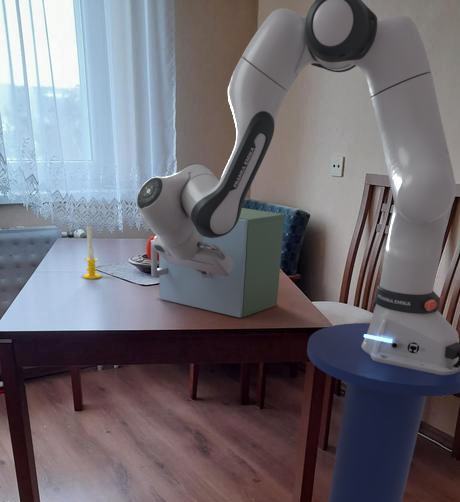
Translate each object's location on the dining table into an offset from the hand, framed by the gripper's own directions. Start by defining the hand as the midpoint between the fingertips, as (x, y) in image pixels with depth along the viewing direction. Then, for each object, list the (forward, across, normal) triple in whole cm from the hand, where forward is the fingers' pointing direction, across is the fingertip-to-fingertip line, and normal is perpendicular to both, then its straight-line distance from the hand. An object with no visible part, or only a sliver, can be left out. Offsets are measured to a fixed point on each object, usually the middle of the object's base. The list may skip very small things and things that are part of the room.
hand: (208, 275), depth 140 cm
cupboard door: (+6, +4, +8) cm, 10 cm away
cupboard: (+15, +4, -1) cm, 15 cm away
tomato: (+28, +44, -14) cm, 54 cm away
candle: (+8, +48, +5) cm, 49 cm away
